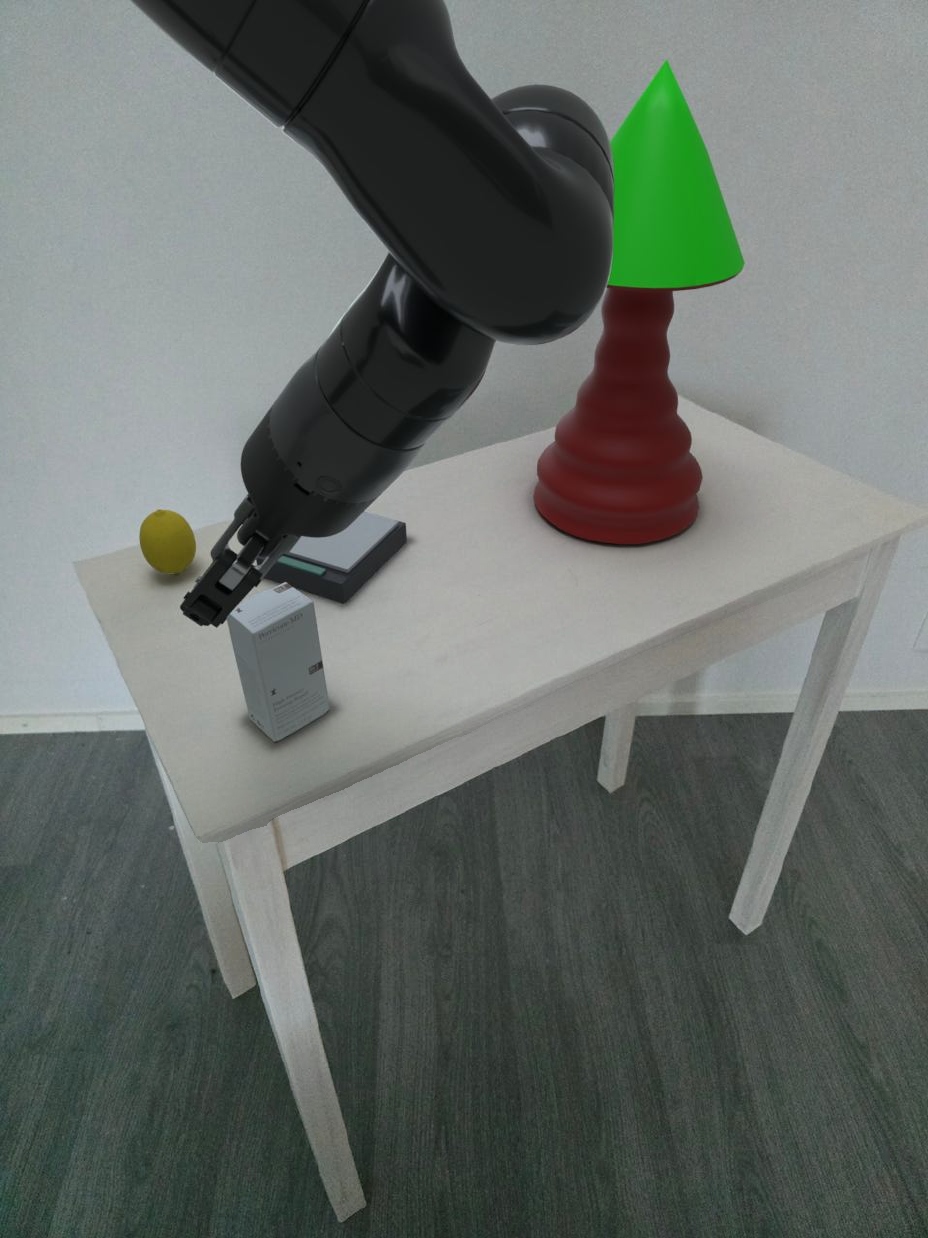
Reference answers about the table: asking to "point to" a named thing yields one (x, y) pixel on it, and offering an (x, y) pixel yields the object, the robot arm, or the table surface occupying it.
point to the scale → (340, 558)
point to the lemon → (167, 541)
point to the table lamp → (642, 336)
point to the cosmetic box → (279, 660)
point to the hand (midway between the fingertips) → (225, 570)
